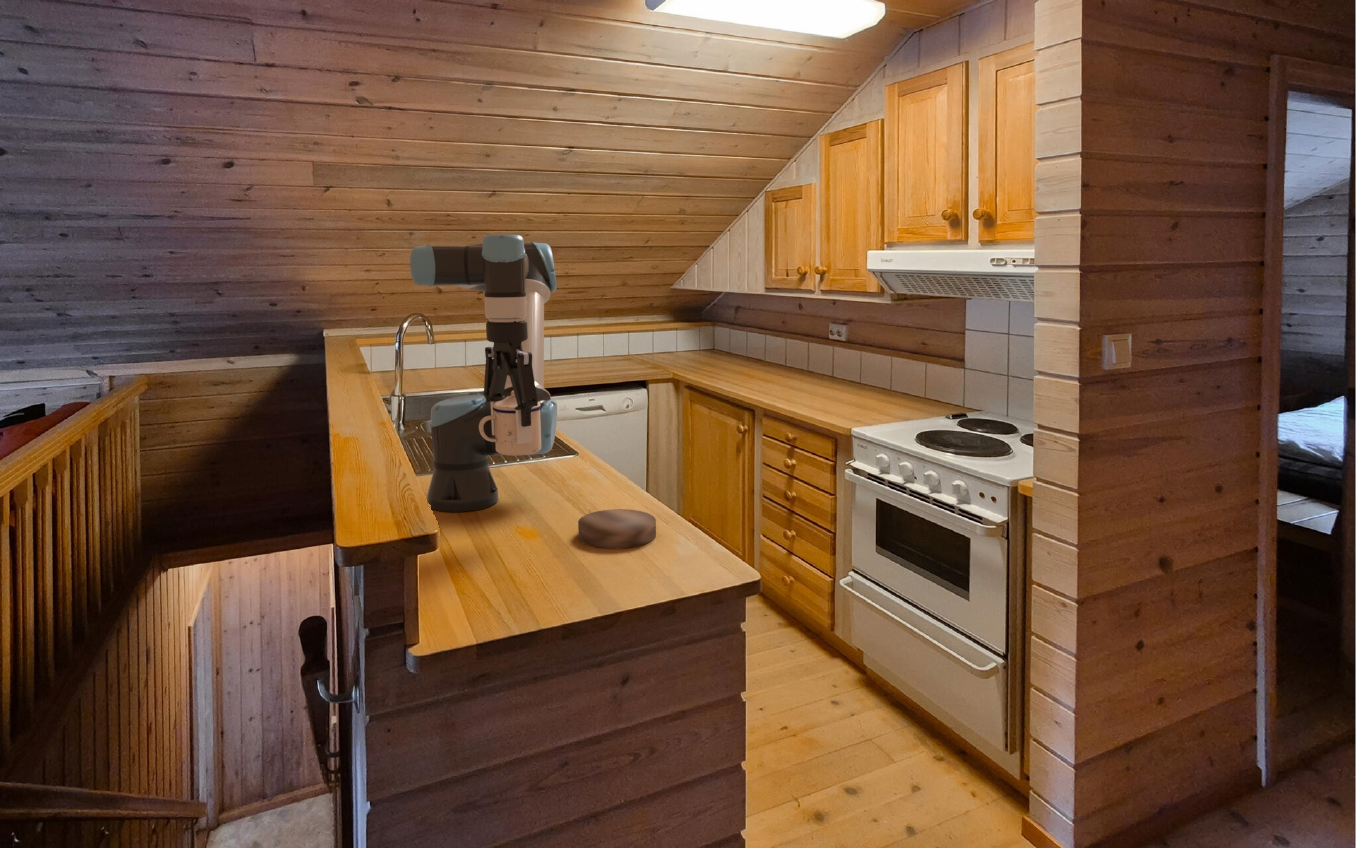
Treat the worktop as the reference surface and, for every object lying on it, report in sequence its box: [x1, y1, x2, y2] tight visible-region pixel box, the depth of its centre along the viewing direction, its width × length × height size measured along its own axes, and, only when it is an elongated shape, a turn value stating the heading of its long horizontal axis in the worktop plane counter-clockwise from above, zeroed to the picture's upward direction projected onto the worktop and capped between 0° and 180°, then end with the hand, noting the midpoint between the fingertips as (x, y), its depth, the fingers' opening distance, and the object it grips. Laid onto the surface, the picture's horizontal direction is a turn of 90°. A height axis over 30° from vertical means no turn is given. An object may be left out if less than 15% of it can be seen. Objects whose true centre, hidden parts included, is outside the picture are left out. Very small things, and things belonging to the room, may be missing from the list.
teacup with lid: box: [479, 391, 541, 457], centre depth 161 cm, size 12×9×12 cm
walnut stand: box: [577, 508, 657, 550], centre depth 165 cm, size 15×15×3 cm
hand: (511, 438), depth 162 cm, fingers closed on teacup with lid, 9 cm apart
